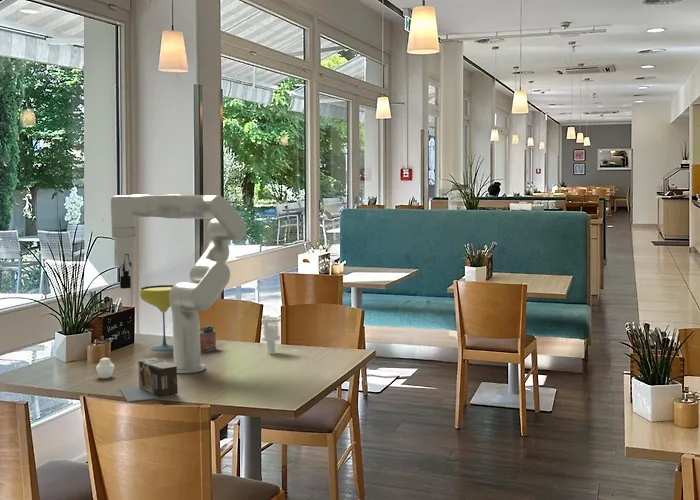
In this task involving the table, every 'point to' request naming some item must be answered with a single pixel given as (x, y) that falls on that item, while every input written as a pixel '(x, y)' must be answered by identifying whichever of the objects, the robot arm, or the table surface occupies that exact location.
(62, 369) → the table surface
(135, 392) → the rubber mat
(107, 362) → the white rounded jar
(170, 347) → the cocktail glass
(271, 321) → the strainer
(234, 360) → the table surface
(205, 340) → the lighter
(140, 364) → the coffee box
